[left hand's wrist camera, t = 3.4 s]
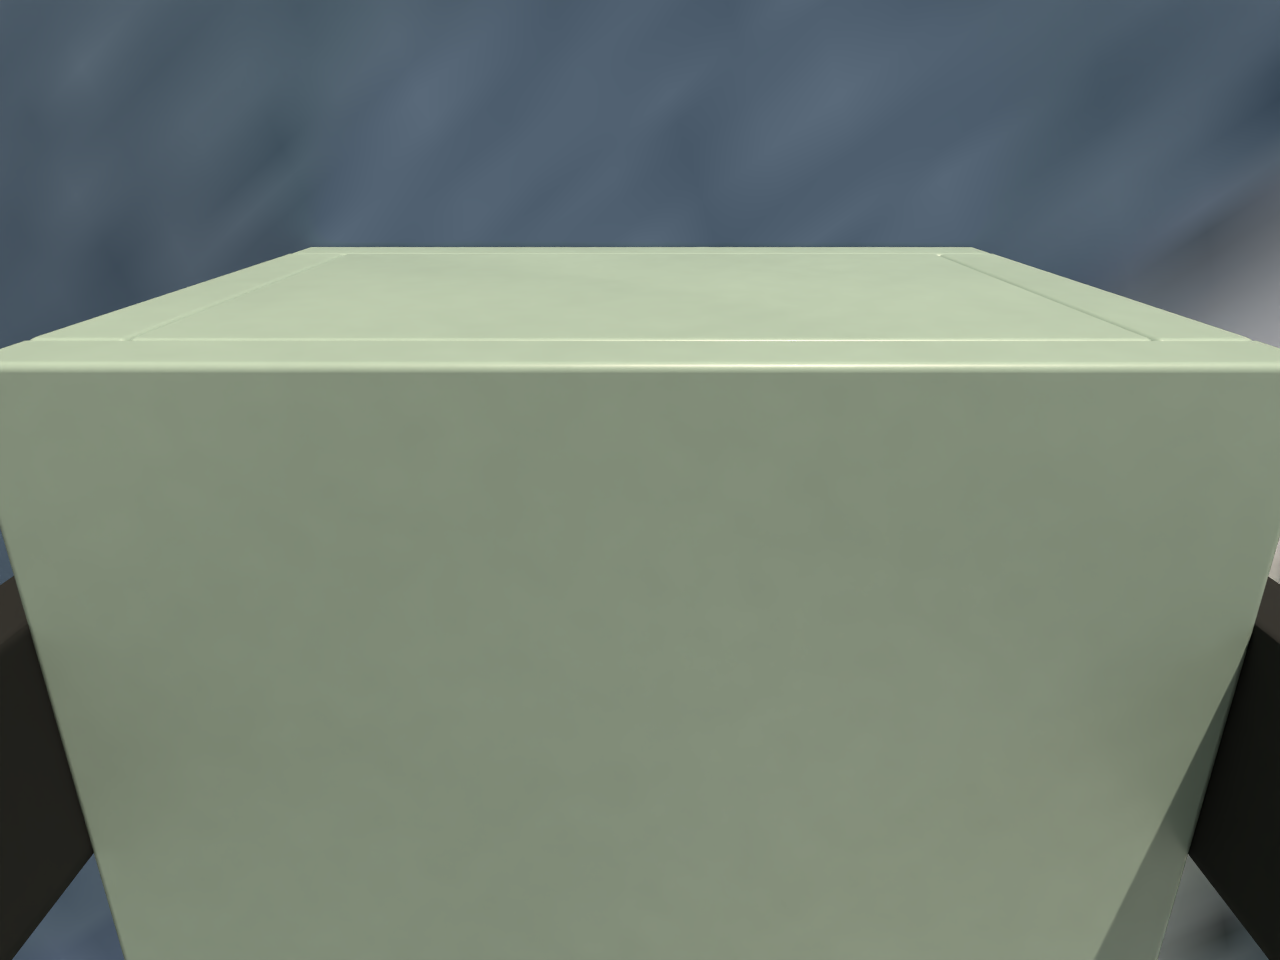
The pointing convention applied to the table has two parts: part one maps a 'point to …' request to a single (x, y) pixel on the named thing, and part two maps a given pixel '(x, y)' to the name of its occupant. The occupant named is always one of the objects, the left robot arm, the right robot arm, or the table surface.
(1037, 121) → the table surface
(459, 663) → the cabinet
